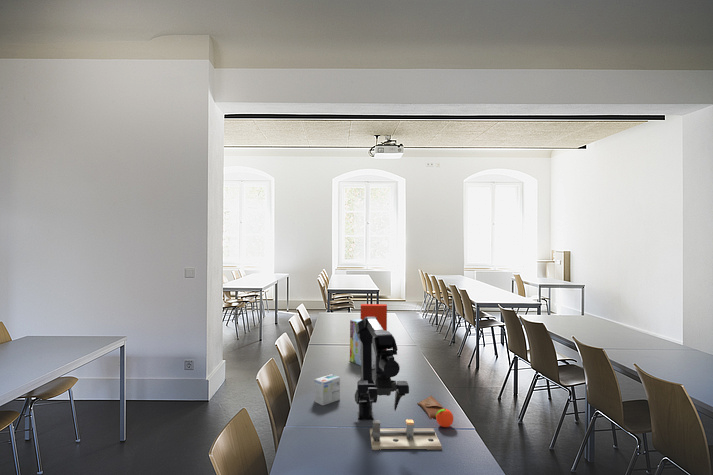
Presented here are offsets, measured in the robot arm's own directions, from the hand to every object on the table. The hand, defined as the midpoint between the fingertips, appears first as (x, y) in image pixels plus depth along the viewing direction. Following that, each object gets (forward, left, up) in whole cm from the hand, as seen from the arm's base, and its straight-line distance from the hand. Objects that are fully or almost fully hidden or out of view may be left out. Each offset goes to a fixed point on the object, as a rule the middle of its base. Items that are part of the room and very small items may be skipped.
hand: (382, 410), depth 151 cm
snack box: (-97, -2, -13) cm, 98 cm away
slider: (-2, +11, -11) cm, 15 cm away
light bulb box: (-41, -22, -13) cm, 48 cm away
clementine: (-14, +26, -13) cm, 32 cm away
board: (-3, +9, -13) cm, 15 cm away
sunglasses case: (-30, +25, -13) cm, 41 cm away
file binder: (-122, +5, -13) cm, 123 cm away
